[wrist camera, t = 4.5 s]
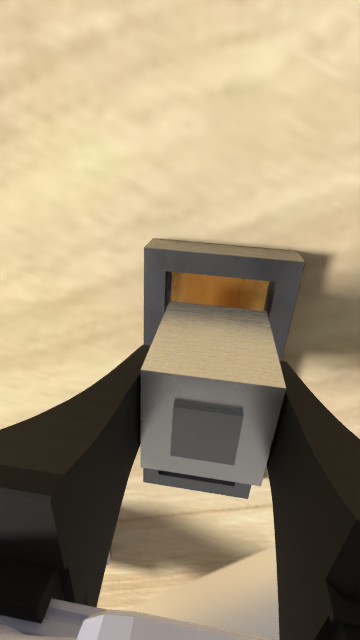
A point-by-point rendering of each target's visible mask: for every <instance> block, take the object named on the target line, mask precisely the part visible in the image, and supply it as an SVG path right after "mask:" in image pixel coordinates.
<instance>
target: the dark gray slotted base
mask: <svg viewBox="0 0 360 640" xmlns="http://www.w3.org/2000/svg"><path fill="white" fill-rule="evenodd" d="M304 265H305V261H304V260H303V259H302V257H301V256H300V254H299V253H298V252H297V251H289V250H278V249H266V248H255V247H243V246H232V245H220V244H209V243H197V242H186V241H175V240H163V239H152V240H151V241H150V242H149V243H148V244H147V245H146V246H145V247H144V345H149V346H151V344H152V342H153V339H154V337H155V335H156V332H157V330H158V328H159V325H160V323H161V321H162V318H163V316H164V313H165V311H166V309H167V306H168V304H169V302H170V301H176V302H185V303H194V304H204V305H213V306H223V307H232V308H242V309H251V310H261V311H267V315H268V319H269V323H270V327H271V331H272V335H273V338H274V342H275V346H276V350H277V354H278V358H279V361H281V360H282V356H283V352H284V347H285V343H286V339H287V335H288V331H289V327H290V323H291V319H292V314H293V310H294V306H295V302H296V298H297V294H298V290H299V285H300V281H301V277H302V273H303V269H304ZM143 482H147V483H153V484H159V485H165V486H171V487H178V488H184V489H190V490H196V491H202V492H208V493H215V494H221V495H227V496H233V497H239V498H245V499H248V496H249V492H250V488H251V485H250V484H244V483H238V482H231V481H225V480H219V479H212V478H206V477H200V476H193V475H187V474H181V473H174V472H168V471H162V470H156V469H149V468H143Z"/></svg>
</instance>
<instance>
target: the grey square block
mask: <svg viewBox="0 0 360 640" xmlns="http://www.w3.org/2000/svg"><path fill="white" fill-rule="evenodd" d="M285 391H286V386H285V382H284V378H283V374H282V370H281V366H280V362H279V358H278V354H277V350H276V346H275V342H274V338H273V335H272V331H271V327H270V323H269V319H268V315H267V311H261V310H251V309H242V308H232V307H223V306H213V305H204V304H194V303H185V302H176V301H170V302H169V304H168V306H167V309H166V311H165V313H164V316H163V318H162V321H161V323H160V325H159V328H158V330H157V332H156V335H155V337H154V339H153V342H152V344H151V346H150V349H149V351H148V354H147V356H146V358H145V361H144V363H143V365H142V368H141V467H143V468H149V469H156V470H162V471H168V472H174V473H181V474H187V475H193V476H200V477H206V478H212V479H219V480H225V481H231V482H238V483H244V484H250V485H257V486H261V484H262V480H263V476H264V472H265V469H266V465H267V461H268V457H269V453H270V449H271V445H272V441H273V438H274V434H275V430H276V426H277V422H278V418H279V414H280V410H281V407H282V403H283V399H284V395H285Z"/></svg>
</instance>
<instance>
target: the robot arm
mask: <svg viewBox="0 0 360 640" xmlns="http://www.w3.org/2000/svg"><path fill="white" fill-rule="evenodd" d="M149 349H150V346H149V345H142V346H141V347H139V348H138V349H137V350H136V351H135V352H134V353H132V354H131V355H130V356H129V357H128V358H127V359H126V360H124V361H123V362H122V363H121V364H120V365H118V366H117V367H116V368H115V369H113V370H112V371H111V372H110V373H109V374H107V375H106V376H105V377H103V378H102V379H100V380H99V381H98V382H96V383H95V384H93V385H92V386H91V387H89V388H88V389H86V390H84V391H83V392H81V393H79V394H78V395H76V396H74V397H73V398H71V399H69V400H67V401H65V402H63V403H61V404H59V405H57V406H55V407H53V408H51V409H49V410H47V411H45V412H43V413H41V414H39V415H37V416H34V417H32V418H30V419H27V420H25V421H22V422H20V423H17V424H14V425H12V426H9V427H6V428H4V429H1V430H0V640H273V639H268V638H263V637H258V636H253V635H248V634H243V633H238V632H233V631H228V630H223V629H218V628H214V627H209V626H204V625H199V624H194V623H189V622H184V621H179V620H174V619H169V618H164V617H159V616H155V615H149V614H145V613H140V612H132V611H120V610H106V609H101V608H96V607H97V602H98V598H99V594H100V589H101V585H102V581H103V576H104V572H105V568H106V565H108V564H109V562H110V547H111V543H112V539H113V535H114V531H115V527H116V523H117V519H118V515H119V511H120V507H121V503H122V500H123V496H124V492H125V489H126V485H127V481H128V477H129V474H130V471H131V468H132V465H133V462H134V460H135V457H136V454H137V452H138V449H139V447H140V444H141V368H142V365H143V363H144V361H145V358H146V356H147V354H148V351H149ZM279 362H280V366H281V370H282V374H283V378H284V382H285V386H286V391H285V395H284V399H283V403H282V407H281V410H280V414H279V418H278V422H277V426H276V430H275V434H274V438H273V441H272V445H271V449H270V453H269V457H268V461H267V469H268V475H269V480H270V486H271V493H272V502H273V515H274V528H275V544H276V561H277V581H278V602H279V634H280V640H360V439H359V438H358V437H357V436H355V435H354V434H353V433H352V432H351V431H350V430H348V429H347V428H346V427H345V426H344V425H343V424H342V423H341V422H340V421H339V420H338V419H337V418H336V417H335V416H334V415H333V414H332V413H331V412H330V411H329V410H328V409H327V408H326V407H325V406H324V405H323V404H322V403H321V402H320V401H319V400H318V399H317V398H316V397H315V396H314V394H313V393H312V392H311V391H310V390H309V389H308V387H307V386H306V385H305V384H304V383H303V382H302V380H301V379H300V378H299V377H298V376H297V374H296V373H295V372H294V371H293V369H292V368H291V367H290V366H289V365H288V363H287V362H282V361H279Z"/></svg>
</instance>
